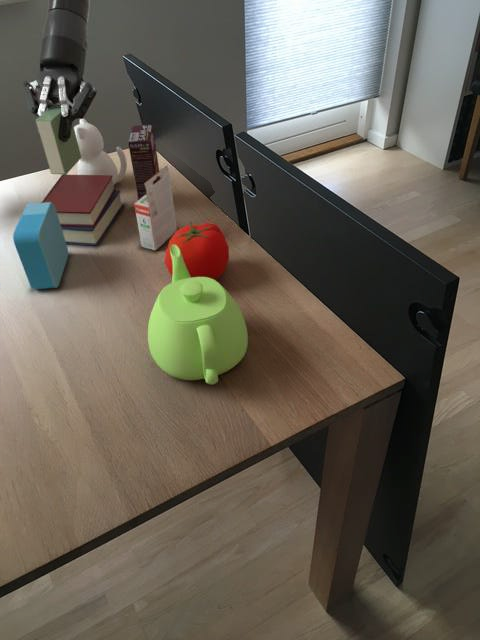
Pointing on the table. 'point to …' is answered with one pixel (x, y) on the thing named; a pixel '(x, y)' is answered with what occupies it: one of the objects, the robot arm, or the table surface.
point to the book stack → (85, 207)
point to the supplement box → (143, 156)
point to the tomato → (200, 250)
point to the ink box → (156, 212)
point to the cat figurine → (96, 154)
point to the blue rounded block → (41, 245)
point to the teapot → (195, 326)
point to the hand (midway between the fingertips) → (53, 139)
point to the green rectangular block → (57, 142)
